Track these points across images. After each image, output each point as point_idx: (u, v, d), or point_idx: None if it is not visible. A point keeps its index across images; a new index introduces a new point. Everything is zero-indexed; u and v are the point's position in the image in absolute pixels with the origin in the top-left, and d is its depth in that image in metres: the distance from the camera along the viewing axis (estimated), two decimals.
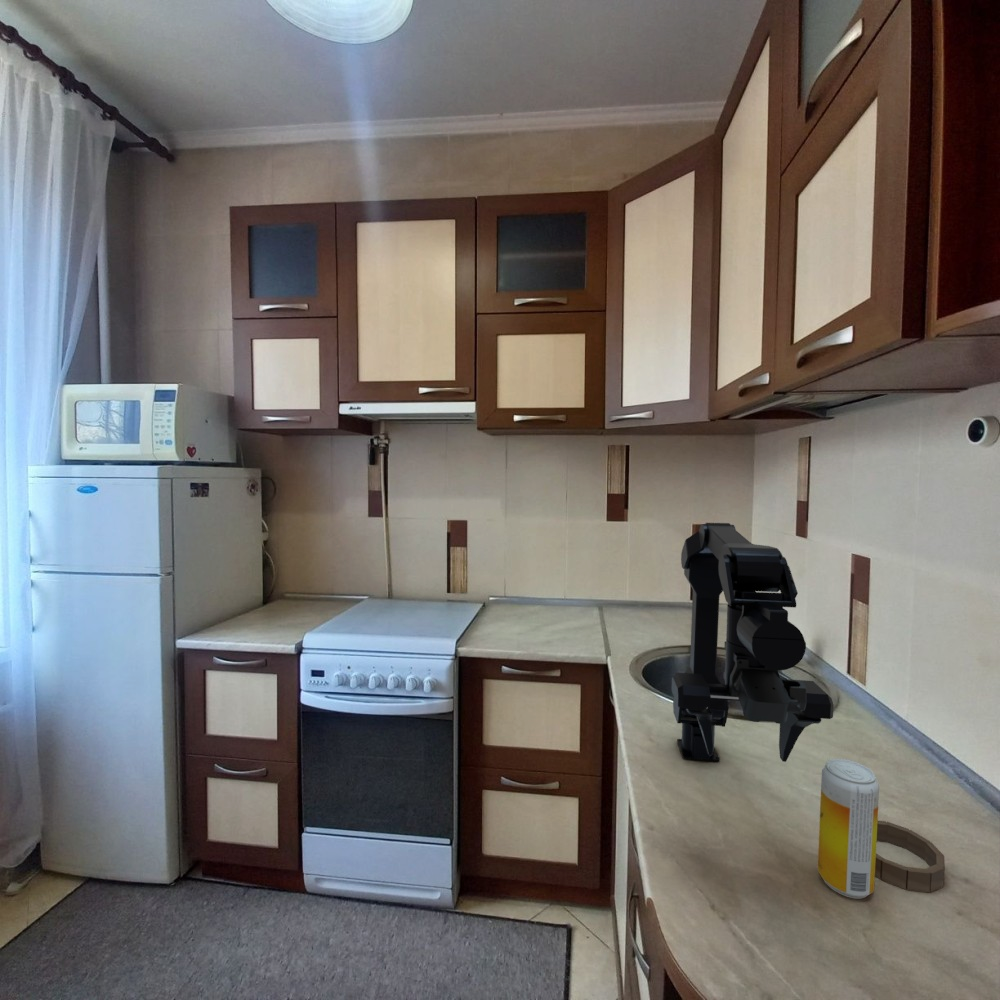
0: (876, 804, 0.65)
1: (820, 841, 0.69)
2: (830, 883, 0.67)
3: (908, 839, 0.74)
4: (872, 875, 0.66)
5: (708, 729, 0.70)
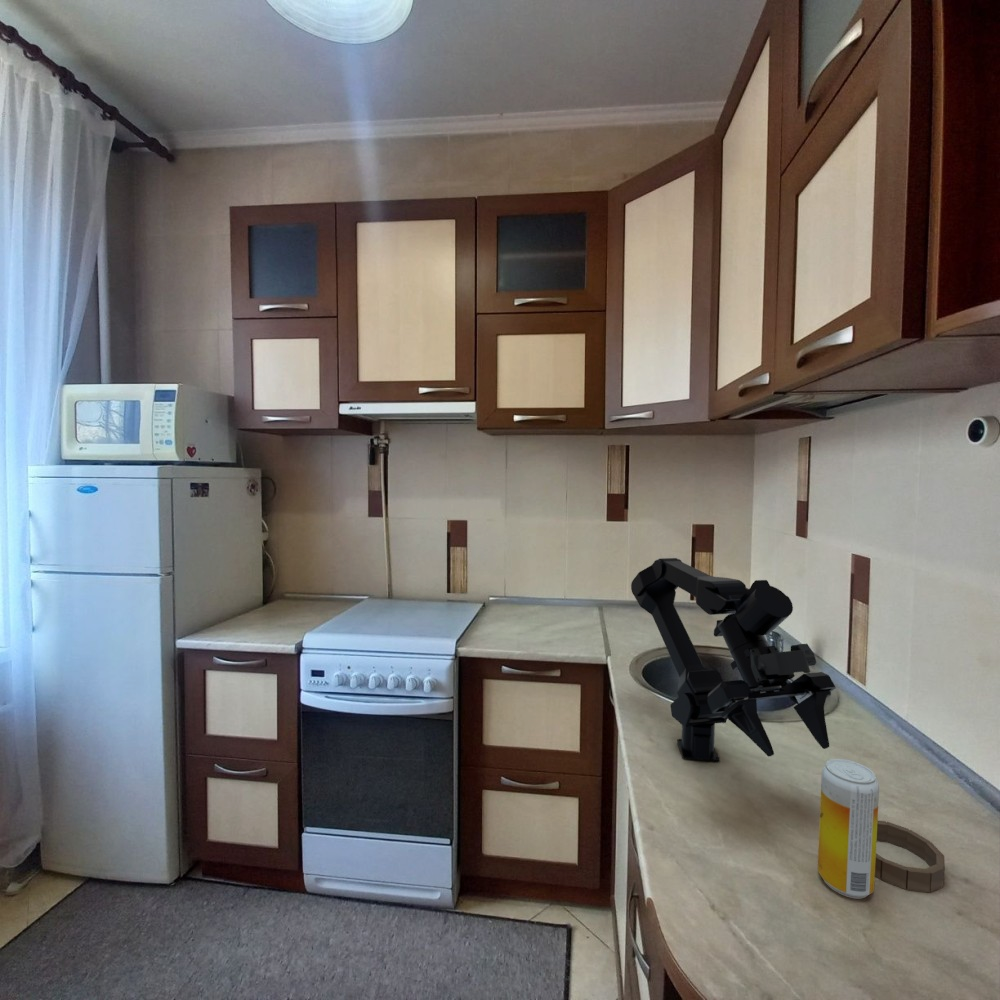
0: (876, 804, 0.65)
1: (820, 841, 0.69)
2: (830, 883, 0.67)
3: (908, 839, 0.74)
4: (872, 875, 0.66)
5: (759, 723, 0.76)
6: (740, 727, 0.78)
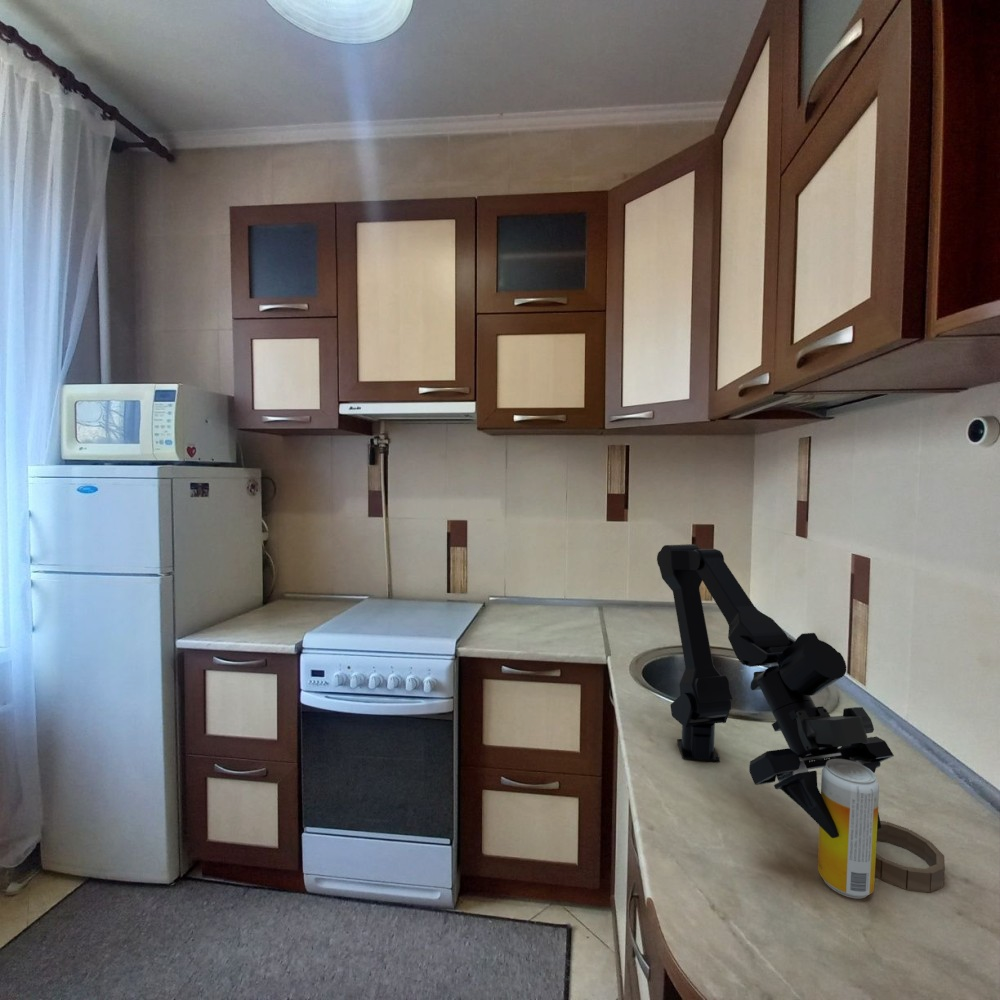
0: (876, 804, 0.65)
1: (820, 841, 0.69)
2: (830, 883, 0.67)
3: (908, 839, 0.74)
4: (872, 875, 0.66)
5: (820, 799, 0.67)
6: (797, 801, 0.70)
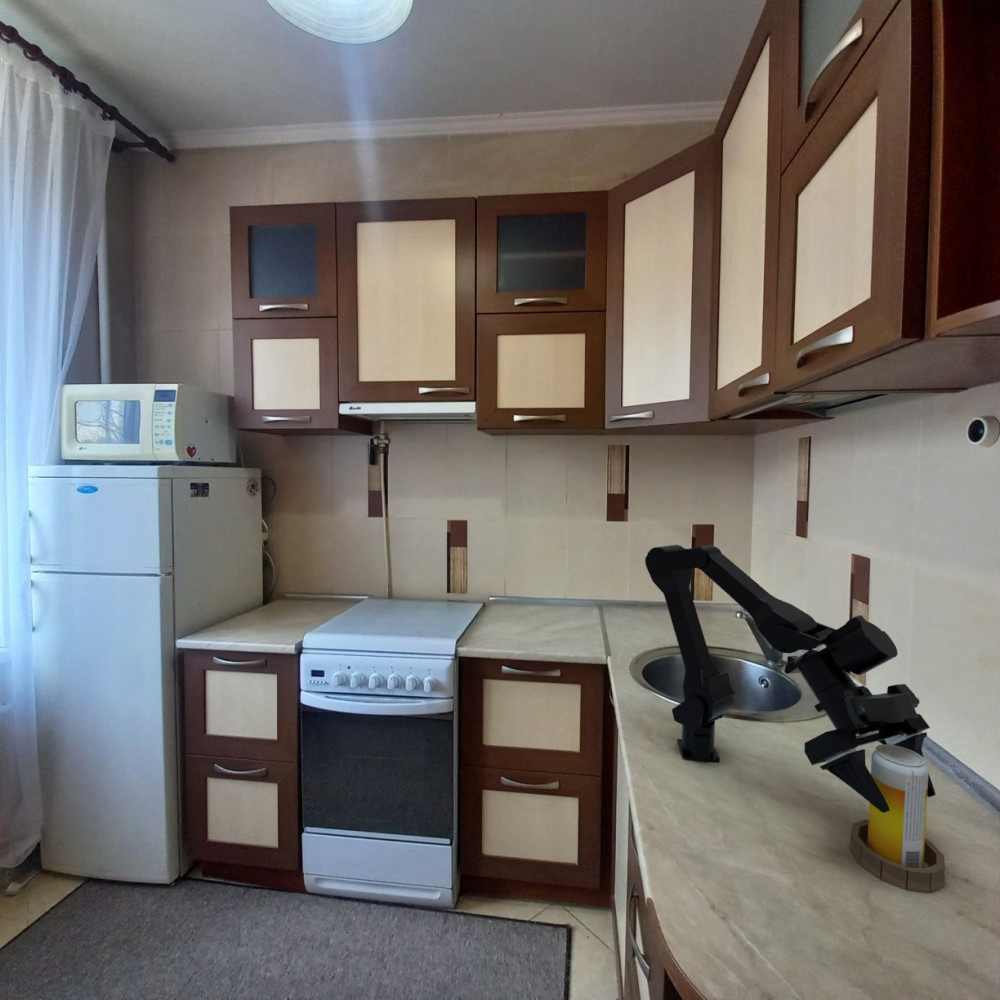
0: (927, 785, 0.69)
1: (872, 824, 0.72)
2: None
3: None
4: (923, 852, 0.70)
5: (869, 776, 0.70)
6: (844, 780, 0.72)
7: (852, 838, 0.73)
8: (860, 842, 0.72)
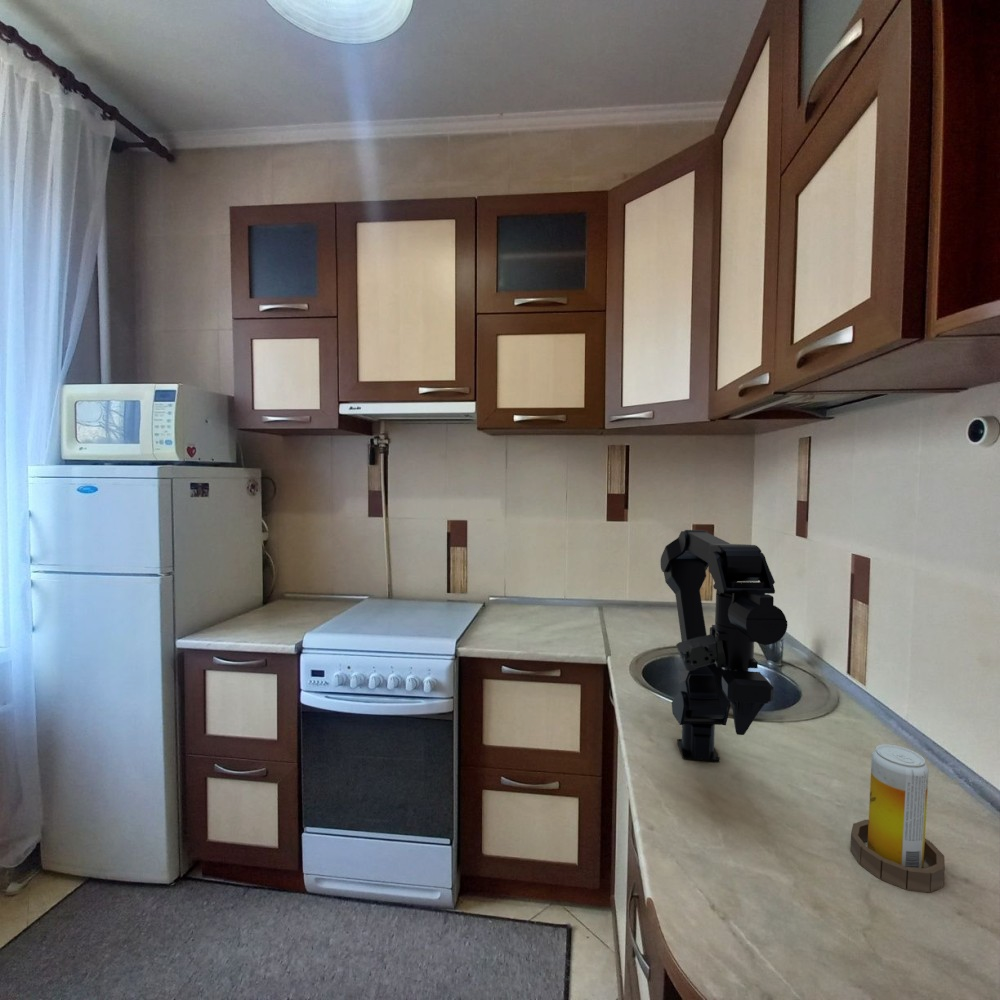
0: (927, 785, 0.69)
1: (872, 824, 0.72)
2: None
3: None
4: (923, 852, 0.70)
5: (715, 682, 0.90)
6: None
7: (852, 838, 0.73)
8: (860, 842, 0.72)
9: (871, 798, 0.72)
